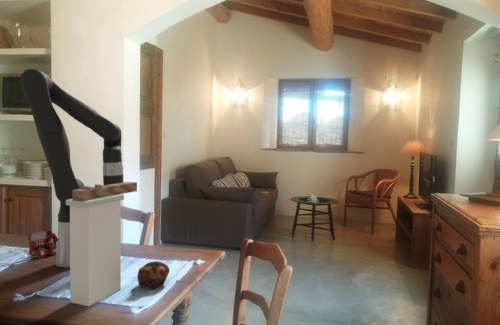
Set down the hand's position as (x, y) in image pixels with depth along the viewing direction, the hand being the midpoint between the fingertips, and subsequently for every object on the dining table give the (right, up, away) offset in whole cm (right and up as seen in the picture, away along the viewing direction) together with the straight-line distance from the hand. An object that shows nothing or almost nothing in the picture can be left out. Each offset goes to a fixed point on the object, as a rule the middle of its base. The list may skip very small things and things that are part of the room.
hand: (114, 214), depth 152 cm
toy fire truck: (-32, -18, +7) cm, 38 cm away
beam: (+8, +10, -29) cm, 32 cm away
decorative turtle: (+21, -21, -22) cm, 37 cm away
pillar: (+6, -21, -32) cm, 39 cm away
